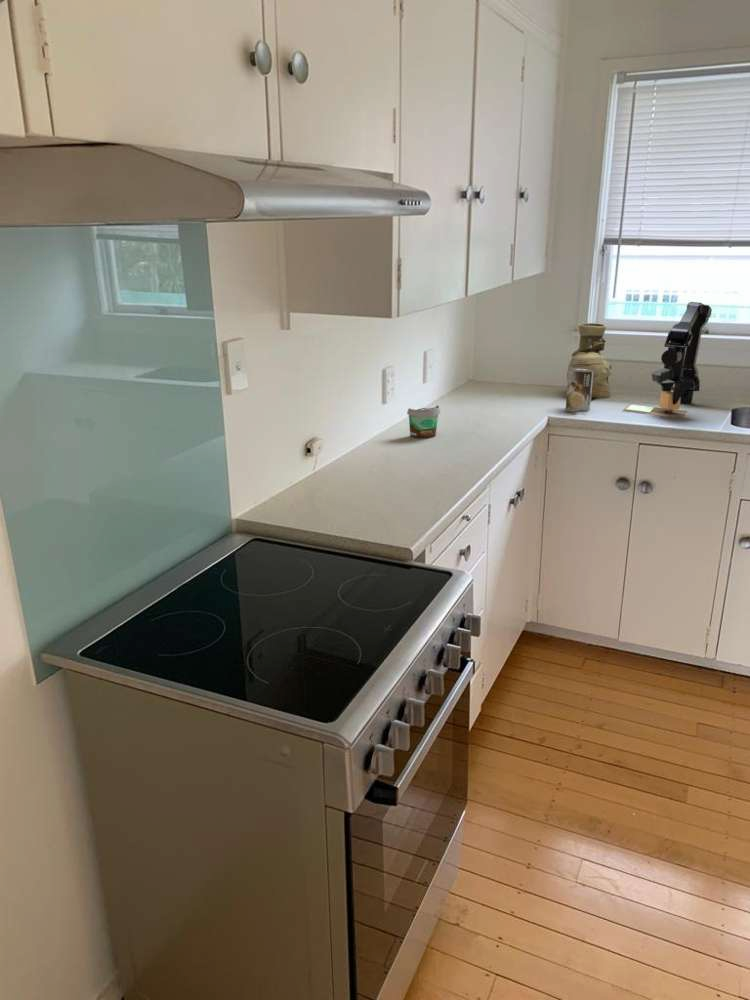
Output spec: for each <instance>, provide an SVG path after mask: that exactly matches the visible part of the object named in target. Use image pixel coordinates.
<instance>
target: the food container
mask: <svg viewBox="0 0 750 1000" xmlns="http://www.w3.org/2000/svg"><path fill="white" fill-rule="evenodd" d="M435 406H436V407H421V408H418V409H413V408H410V407H408V409H407V412H406V415H408V424H409V437H411V438H415V439H422V440H423V439H432V438H435V437H436V435H437V428H438V419H439V415H441V408H440V405H438V404H436V405H435Z"/></svg>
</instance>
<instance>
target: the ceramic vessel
mask: <svg viewBox="0 0 750 1000" xmlns="http://www.w3.org/2000/svg"><path fill="white" fill-rule="evenodd" d="M606 329H607V325H606V324H602V323H594V322H587V323H586V322H585V323H579V324H578V331H579V345H578V346H579V347H578V349H576V350H575V351H574V352H573V353H572V354H571V357H572V358H571V360H570V361H569V364H568V367H567V374H566V375H567V376H566V377H567V379H566V380H567V381H568V374H569V370H570V369H571V368H577V369H591V370H594V373H593V383H592V393H591V400H596V399H608V398H610V395H611V390H610V383H609V377H610V376H611V375H612V364H611V363H610V362H609V361H608V360H606V359H605V358H604V356H603V354H602V353H601V351H605V343H606V342H607V340H606V339H605V338H603V337H604V334H605V331H606Z"/></svg>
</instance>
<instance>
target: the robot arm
mask: <svg viewBox="0 0 750 1000" xmlns="http://www.w3.org/2000/svg"><path fill="white" fill-rule="evenodd" d="M712 312H713V311H712V306H710V305H709V304H703V303H702V302H698V301H697V302H695V301H690V302H688V303H687V305H686V310H685V312H684V314H683V316H682V317H681V319H680V321H679V323H678V322H677V323H676V324H674V325H673V326H672V327H671V328H670V330H669V331H668V334H667V337H666V340H665V343H664V347H665V348H667V350H664V351H663V353H662V355H661V358H660V360H661V362H662V364H663V368H660V369H657V370H655V371H652V372H651V377H652V378H651V380H652V382H656V384H658V385H659V386H660V387H661V391H673V404H676V403H677V402H678V400H679V399H680V397H681V400H680V405H692V406H693V405H694V404H695V402H693V398H694V392H699V391H700V388H701V385H700V384H701V383H700V377H699V370H698V368H697V365H696V364H697V360H698V355H699V349H700V345H701V344H700V343H701V338H702V332H703V328H704V327H705V326H706V325H707V324H708V322H709V320H710V318H711V316H712Z"/></svg>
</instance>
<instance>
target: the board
mask: <svg viewBox="0 0 750 1000" xmlns="http://www.w3.org/2000/svg"><path fill="white" fill-rule="evenodd" d="M630 405H634V404H633V403H632V404H631V403H630V404H629V405H627V406H626V407H625V408H623V409H622V410H621V412H625V413H631V414H632V413H633V414H641V415H646V416H647V415H648V416H656V417H665V418H673V419H680V420H681V419H683V417H684V416H685V415H686V414H687V413H688V412H689V410H682V409H681V410H680V409H673V413H672V414H667V413H664V410H665V409H664V408H661V407H659V406H657V407H656V406H654V407H655V409H654V410H653V411H651V412H650V413H644V412H636V411H629V410H626V409H627V408H628V407H629V406H630ZM637 405H638V406H643V405H640V404H637ZM646 406H647V405H646ZM647 407H651V406H647Z"/></svg>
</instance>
